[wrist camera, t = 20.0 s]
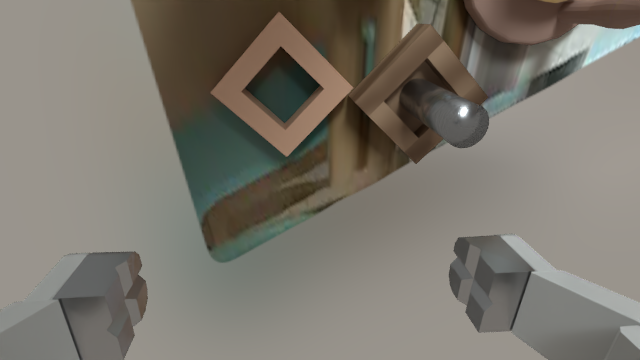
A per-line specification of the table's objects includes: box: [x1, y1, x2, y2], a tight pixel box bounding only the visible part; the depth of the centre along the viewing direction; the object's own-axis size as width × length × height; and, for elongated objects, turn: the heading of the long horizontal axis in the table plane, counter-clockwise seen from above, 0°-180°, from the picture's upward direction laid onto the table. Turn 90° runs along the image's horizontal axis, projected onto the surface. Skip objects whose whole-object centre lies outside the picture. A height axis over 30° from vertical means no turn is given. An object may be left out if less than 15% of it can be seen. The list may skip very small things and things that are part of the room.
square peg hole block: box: [348, 24, 488, 164], centre depth 42 cm, size 11×11×4 cm
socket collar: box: [210, 12, 353, 157], centre depth 40 cm, size 11×11×3 cm
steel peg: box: [400, 78, 489, 148], centre depth 36 cm, size 4×4×12 cm
